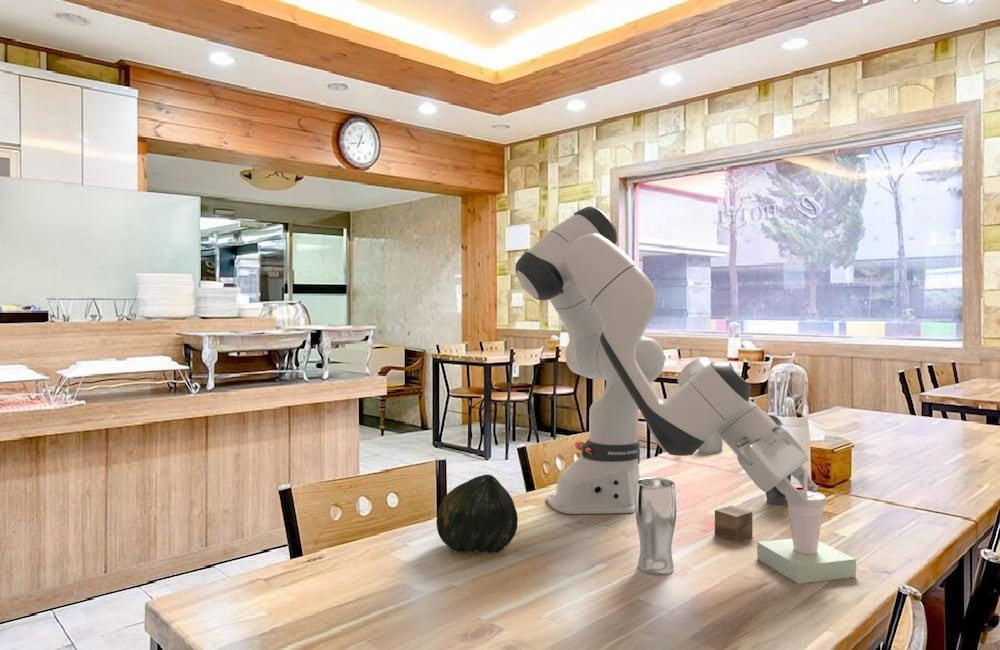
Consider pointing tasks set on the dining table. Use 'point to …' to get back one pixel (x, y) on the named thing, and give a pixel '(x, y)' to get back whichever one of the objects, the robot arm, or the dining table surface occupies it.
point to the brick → (733, 523)
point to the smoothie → (806, 520)
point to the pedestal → (806, 561)
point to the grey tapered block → (712, 444)
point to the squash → (477, 516)
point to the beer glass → (655, 524)
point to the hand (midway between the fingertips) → (808, 497)
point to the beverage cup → (777, 496)
